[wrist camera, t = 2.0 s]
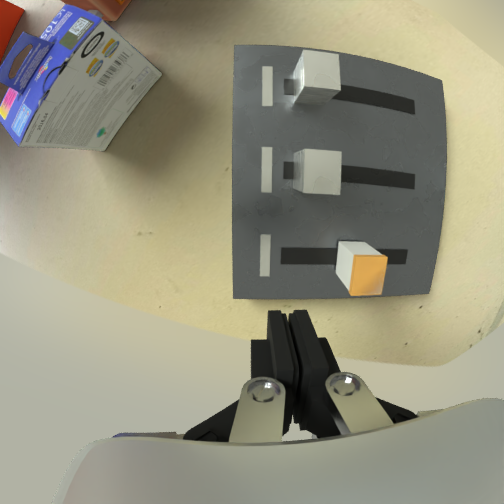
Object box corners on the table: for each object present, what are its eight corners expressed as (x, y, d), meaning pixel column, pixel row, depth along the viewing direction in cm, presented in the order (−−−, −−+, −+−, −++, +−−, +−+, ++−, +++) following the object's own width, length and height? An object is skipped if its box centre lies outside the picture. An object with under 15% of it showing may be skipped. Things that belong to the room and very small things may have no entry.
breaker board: (426, 86, 21) (471, 70, 13) (415, 282, 27) (453, 314, 20) (236, 57, 21) (229, 18, 13) (235, 285, 27) (228, 327, 20)
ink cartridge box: (130, 50, 20) (49, -13, 6) (166, 72, 21) (90, 1, 7) (74, 126, 22) (-30, 116, 8) (104, 153, 23) (-6, 153, 9)
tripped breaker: (365, 241, 22) (387, 257, 18) (361, 273, 23) (381, 294, 19) (338, 240, 22) (356, 257, 18) (334, 273, 23) (351, 295, 19)
